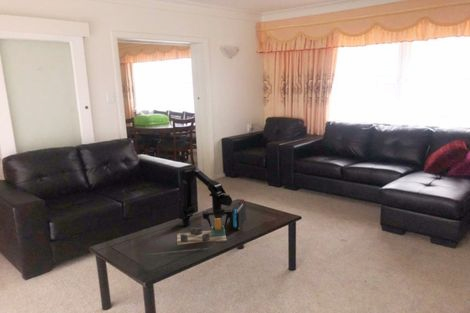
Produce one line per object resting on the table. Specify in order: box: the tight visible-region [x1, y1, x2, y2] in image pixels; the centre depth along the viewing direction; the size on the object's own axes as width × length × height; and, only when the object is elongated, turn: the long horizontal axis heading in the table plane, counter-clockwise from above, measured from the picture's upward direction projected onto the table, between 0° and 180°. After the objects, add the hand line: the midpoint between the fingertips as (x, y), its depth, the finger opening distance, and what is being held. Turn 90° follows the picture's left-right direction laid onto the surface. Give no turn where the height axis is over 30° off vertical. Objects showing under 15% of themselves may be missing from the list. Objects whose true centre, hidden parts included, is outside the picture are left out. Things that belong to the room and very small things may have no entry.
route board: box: [176, 224, 228, 245], centre depth 230 cm, size 17×30×5 cm, turn 98°
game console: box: [228, 198, 247, 231], centre depth 250 cm, size 28×6×15 cm, turn 165°
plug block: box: [214, 217, 222, 230], centre depth 234 cm, size 4×4×9 cm
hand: (218, 226), depth 234 cm, fingers open, 9 cm apart
